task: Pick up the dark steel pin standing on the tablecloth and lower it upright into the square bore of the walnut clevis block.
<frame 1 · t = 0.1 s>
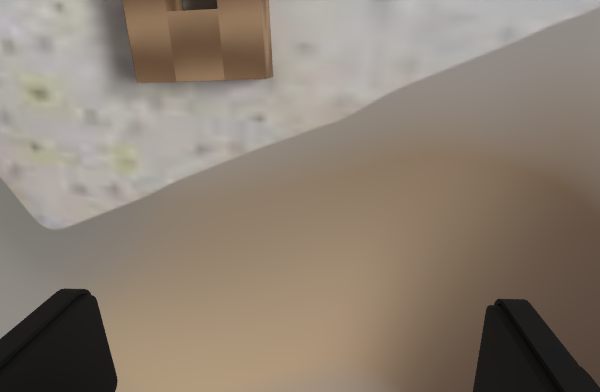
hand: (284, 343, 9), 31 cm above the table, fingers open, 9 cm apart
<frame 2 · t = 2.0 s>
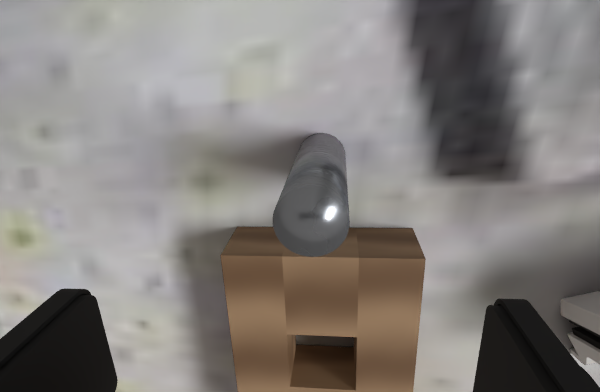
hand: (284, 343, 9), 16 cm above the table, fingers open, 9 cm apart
pin: (321, 156, 24), on the table
clevis block: (324, 322, 28), on the table
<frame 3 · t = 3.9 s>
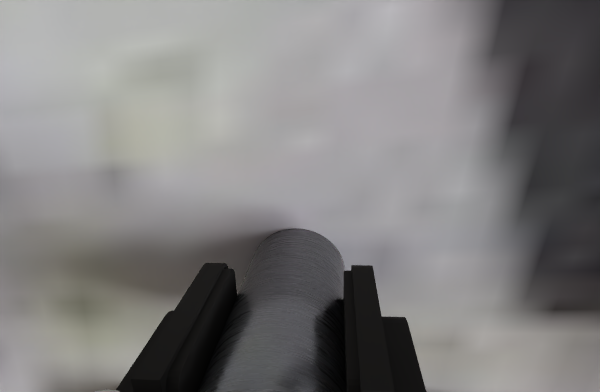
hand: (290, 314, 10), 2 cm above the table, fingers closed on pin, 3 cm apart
pin: (297, 271, 12), on the table, touching gripper
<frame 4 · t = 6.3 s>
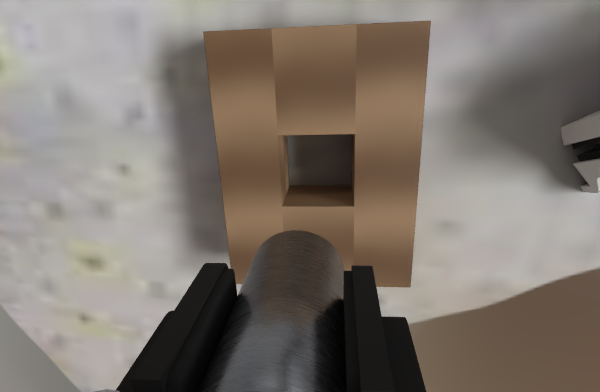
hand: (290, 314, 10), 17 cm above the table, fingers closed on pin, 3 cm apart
pin: (297, 272, 12), point 15 cm above the table, touching gripper
clevis block: (319, 155, 26), on the table
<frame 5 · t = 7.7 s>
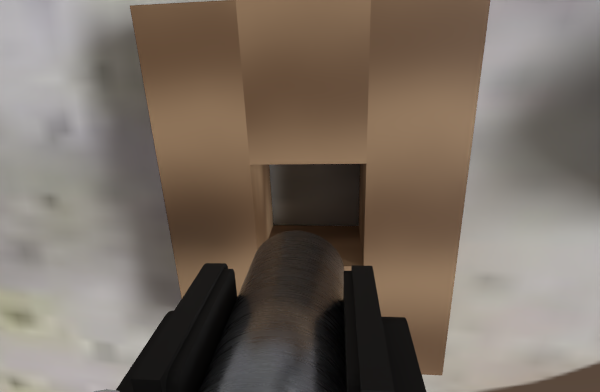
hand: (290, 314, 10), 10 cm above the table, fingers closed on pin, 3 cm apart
pin: (297, 272, 12), point 8 cm above the table, touching gripper
clevis block: (314, 185, 19), on the table
when the fingers open (5 cm above the table, at t = 8.9 s): pin drops 3 cm, resting in clevis block.
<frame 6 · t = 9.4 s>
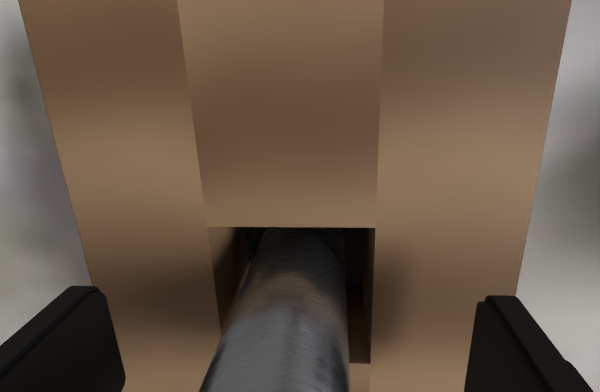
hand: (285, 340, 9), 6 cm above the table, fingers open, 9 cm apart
pin: (304, 236, 14), resting in clevis block
clevis block: (304, 236, 14), on the table
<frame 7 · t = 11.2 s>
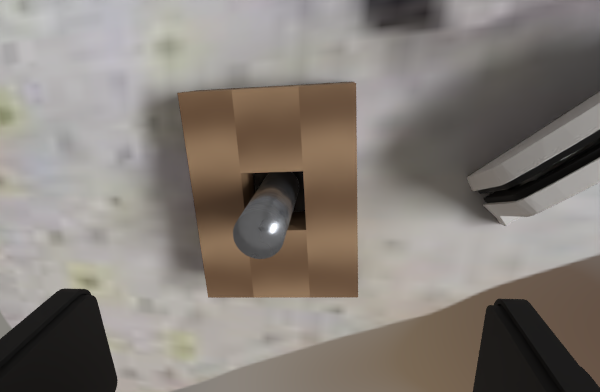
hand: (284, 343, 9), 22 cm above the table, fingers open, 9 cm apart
pin: (281, 186, 31), resting in clevis block
clevis block: (281, 186, 31), on the table
grey piece: (570, 125, 28), on the table
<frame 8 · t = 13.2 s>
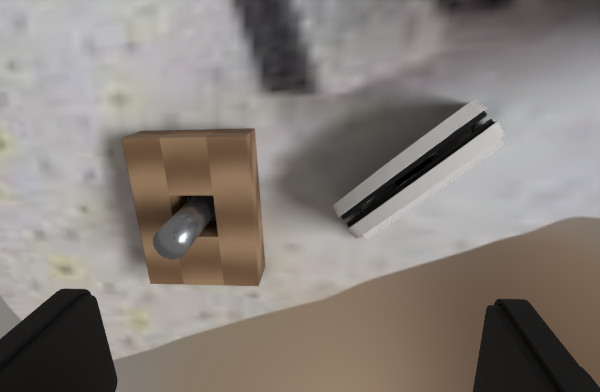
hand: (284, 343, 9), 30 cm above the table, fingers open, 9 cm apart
pin: (207, 202, 41), resting in clevis block
clevis block: (206, 202, 41), on the table
grey piece: (408, 164, 38), on the table
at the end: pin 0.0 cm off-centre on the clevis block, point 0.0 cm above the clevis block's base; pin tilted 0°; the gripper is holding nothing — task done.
